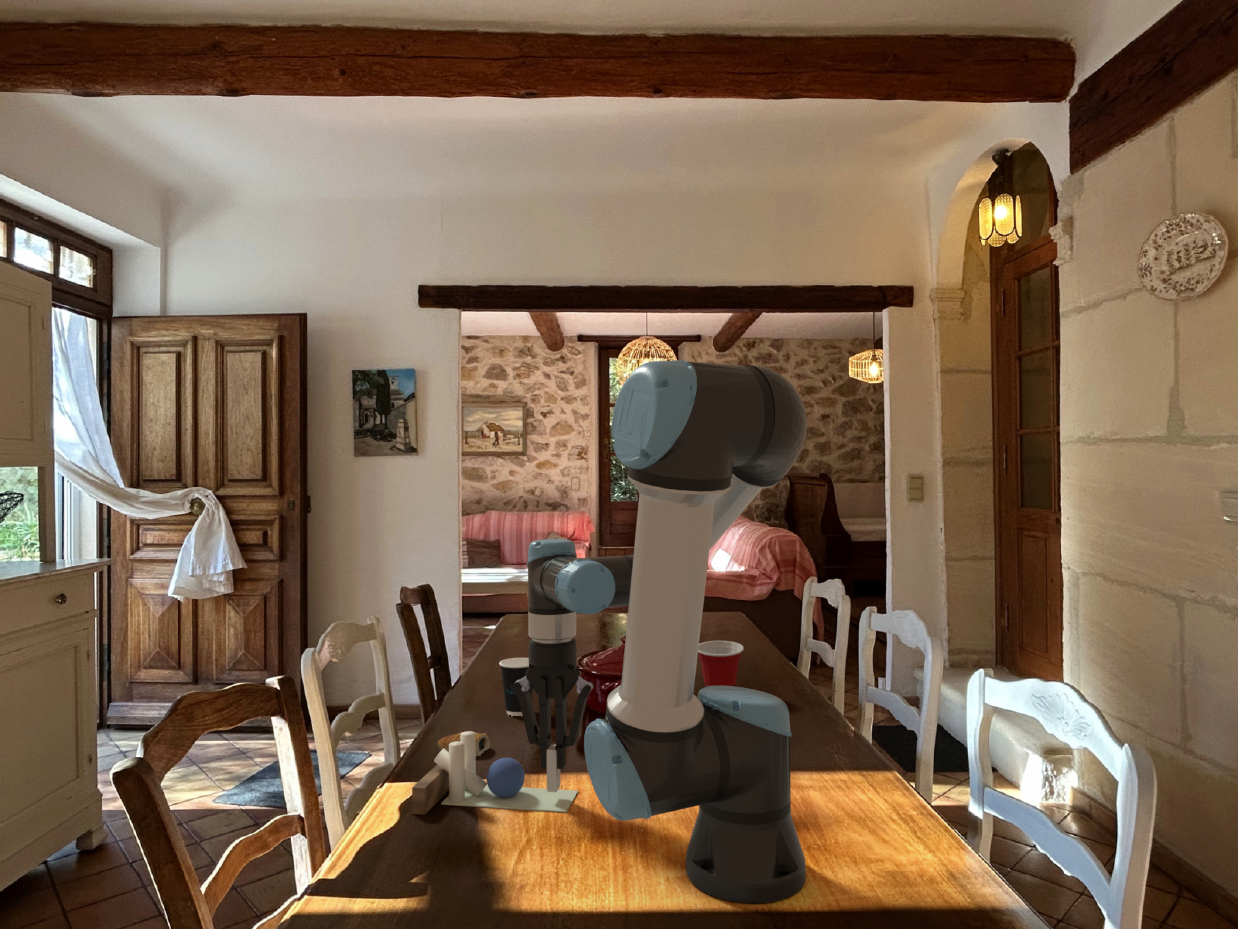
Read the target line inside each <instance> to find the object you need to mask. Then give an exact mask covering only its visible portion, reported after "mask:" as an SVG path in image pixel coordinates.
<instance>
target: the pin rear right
mask: <svg viewBox="0 0 1238 929" xmlns="http://www.w3.org/2000/svg"><path fill="white" fill-rule="evenodd" d="M448 791H449V792H448V796H449V801H450V802H451V803H461V802H463V801H464V800H465V744H464V742H461V741H456V742H451V743H450V744H449V790H448Z"/></svg>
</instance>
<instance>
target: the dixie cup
mask: <svg viewBox="0 0 1238 929" xmlns="http://www.w3.org/2000/svg"><path fill="white" fill-rule="evenodd" d="M498 664H499V665H500V672H501V680H502V682H501V683H502V687H503V688H502V689H503V698H504V699H503V700H504V707H505V711H506V715H507V714H508V715H507V716H509V715H511V716H510V717H513V716H521V717H523V715H522V711H521V707H520V703H519V699H518V697H517V695H516V693H515V692H514V690H513V689H512V685H513V684H514V683H515V682H516V681H517V680H518V679H522V678H524V677H525V676H526V672H527V670H528V667H529V657H512V658H506V659H502V660H500V661H499V663H498ZM529 686H530V689H529V692H530V695H531V699H533V691H534V689H533V687H532V686H531V684H530V683H529Z"/></svg>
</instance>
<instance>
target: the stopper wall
mask: <svg viewBox="0 0 1238 929" xmlns="http://www.w3.org/2000/svg"><path fill="white" fill-rule="evenodd" d="M448 791H449V773H448V772H447V771H445V770H444V769H443V768H442V767H440V766H439V765H438V764H437V763H436V765H435V766H434V767H432V769H430V770H429V771H428V772H427V773H426V774H425V775H424V776H423V777H422V778H421V779H420V780H419V781H417V782H416V783H415V784H414V785H413V786H412V787H411V794H412V795H411V797H412V798H411V802H412V804H411V805H412V806H411V807H412V809H411V811H412V813H411V814H412V815H420V816H421V815H422V816H425V815H426V814H427V813H428V812H430V810H431V809H432V808H433V807H434V806H435V805H436V804H438V802H439V801H440V800H441V799H442V798H443V796H445V795H446V793H447V792H448Z"/></svg>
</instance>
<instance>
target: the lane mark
mask: <svg viewBox="0 0 1238 929" xmlns="http://www.w3.org/2000/svg"><path fill="white" fill-rule="evenodd" d="M578 793H579V790H576V789H575V790H572V789H560V788H559V789H558V790H557V792H547V788H539V787H538V788H537V787H523V786H522V788H521V790H520V791H519V792H518V793H517V794H515V795H514V796H512V797H509V798H501V797H498V796H496V795H494V794H493V793H492V792H491V791H490V789H489V787H488V785H486V787H485V788H484V789H483V791H482V792H481V793H480V794H479V796H478V797H477V796H476V795H475V794H474V793H472V792H471V791H470V790H469V791H465V800H464V801H463V802H461V803H451V802H450V801H449V795H447V797H446V798H444V800H443V801H442V802H441V805H442V806H443V805H444V806H446V805H447V806H456V807H457V806H461V807H472V808H473V807H474V808H475V807H477V808H492V809H505V810H507V809H508V810H523V811H537V812H552V813H553V812H554V813H567V812H568V811H569V809H570V807H571V806H570V805H572V804H573V802H574V800H575V798H576V797H577V795H578ZM576 794H577V795H576ZM572 801H573V802H572Z"/></svg>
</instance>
